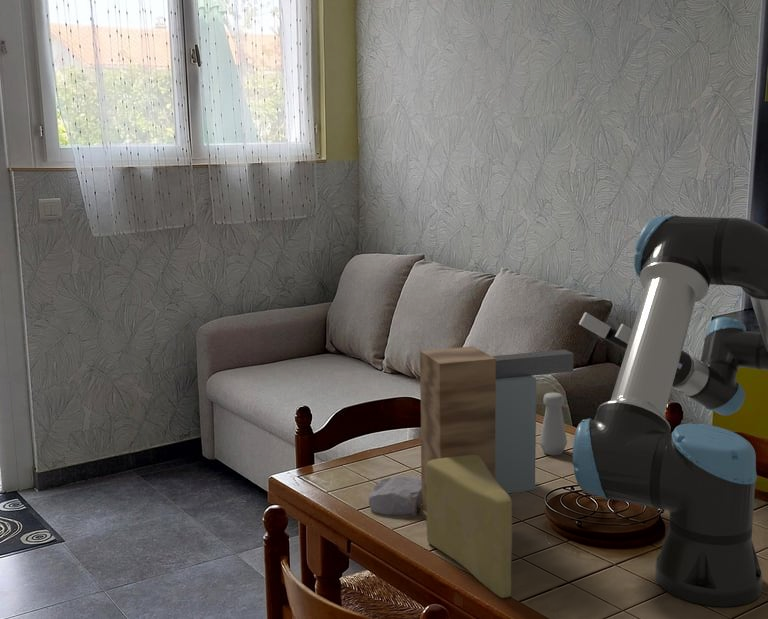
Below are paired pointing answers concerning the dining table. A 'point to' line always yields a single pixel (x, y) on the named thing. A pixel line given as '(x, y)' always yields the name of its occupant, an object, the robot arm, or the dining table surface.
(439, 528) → the cheese
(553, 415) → the salt shaker
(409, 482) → the stone block
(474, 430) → the walnut stand
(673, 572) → the robot arm
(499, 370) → the steel bar
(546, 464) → the dining table surface
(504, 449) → the grey-blue block
